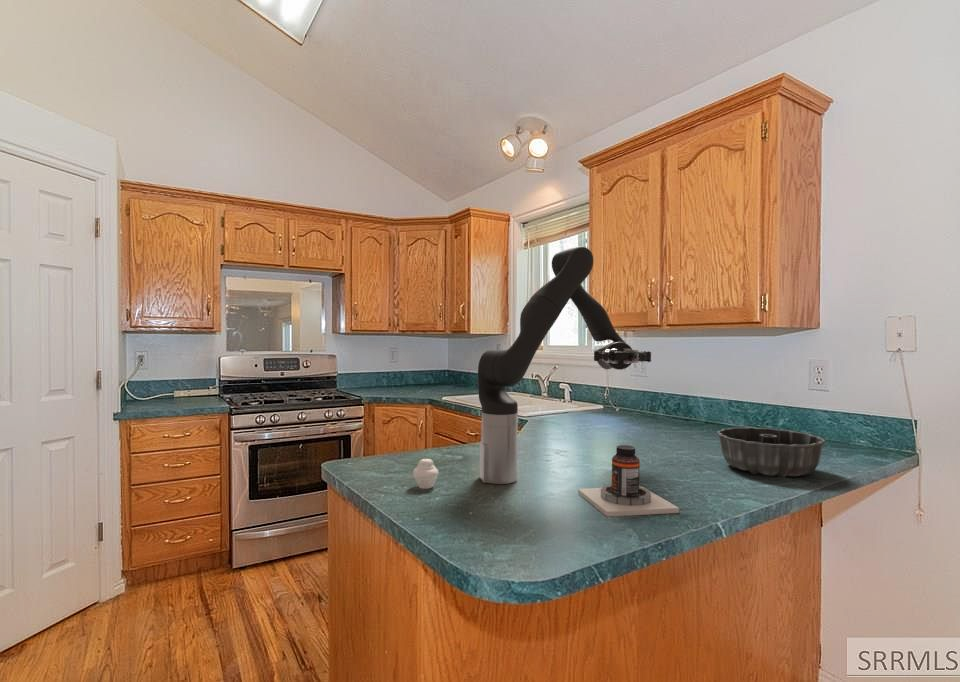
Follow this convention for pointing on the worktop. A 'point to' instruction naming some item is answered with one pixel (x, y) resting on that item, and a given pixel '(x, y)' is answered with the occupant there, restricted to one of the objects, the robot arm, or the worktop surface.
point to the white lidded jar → (425, 474)
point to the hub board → (612, 509)
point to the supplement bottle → (625, 472)
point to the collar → (628, 501)
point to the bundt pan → (771, 451)
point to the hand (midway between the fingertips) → (624, 356)
